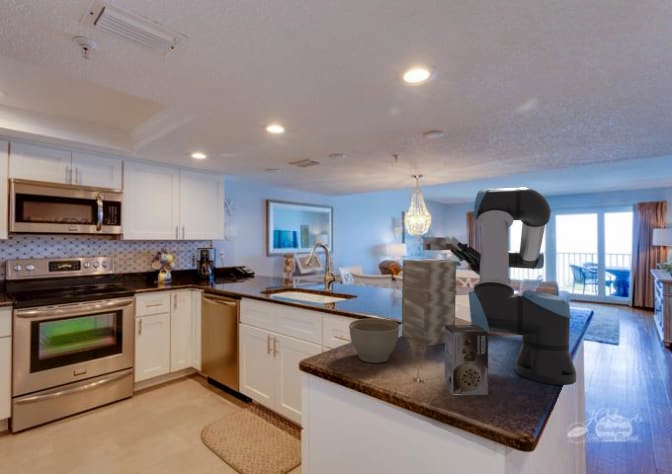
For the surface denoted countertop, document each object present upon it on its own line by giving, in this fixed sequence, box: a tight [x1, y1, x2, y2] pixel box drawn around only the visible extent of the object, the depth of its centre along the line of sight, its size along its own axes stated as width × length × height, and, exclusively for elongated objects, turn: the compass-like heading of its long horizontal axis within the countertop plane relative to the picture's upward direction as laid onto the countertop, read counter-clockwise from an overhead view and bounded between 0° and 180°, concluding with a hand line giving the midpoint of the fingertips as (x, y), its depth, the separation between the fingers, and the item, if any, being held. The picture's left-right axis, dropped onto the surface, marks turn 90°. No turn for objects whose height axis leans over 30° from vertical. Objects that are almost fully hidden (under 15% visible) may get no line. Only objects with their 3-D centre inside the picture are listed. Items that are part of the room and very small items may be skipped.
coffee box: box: [444, 324, 489, 396], centre depth 89 cm, size 9×6×16 cm
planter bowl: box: [348, 318, 401, 364], centre depth 111 cm, size 16×16×11 cm
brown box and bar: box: [422, 236, 469, 252], centre depth 137 cm, size 20×6×5 cm, turn 118°
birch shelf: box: [401, 258, 461, 347], centre depth 133 cm, size 16×14×30 cm
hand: (448, 239), depth 138 cm, fingers closed on brown box and bar, 3 cm apart
